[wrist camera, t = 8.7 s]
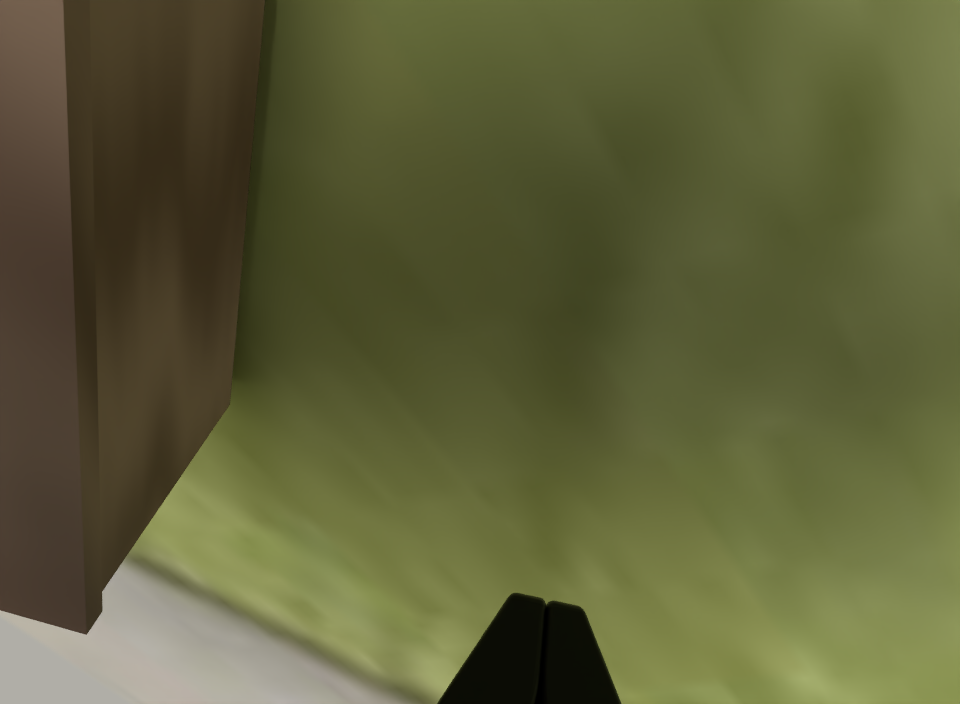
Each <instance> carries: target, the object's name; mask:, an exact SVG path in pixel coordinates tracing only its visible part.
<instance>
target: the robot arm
mask: <svg viewBox="0 0 960 704" xmlns="http://www.w3.org/2000/svg"><path fill="white" fill-rule="evenodd" d="M437 704H621V701H620V699H619V696H618V694H617V691H616V689H615V686H614V684H613V681H612V679H611V676H610V674H609V671H608V668H607V666H606V663H605V661H604V658H603V656H602V653H601V651H600V648H599V646H598V643H597V641H596V638H595V636H594V633H593V631H592V628H591V626H590V623H589V621H588V618H587V616H586V613H585V611H584V610H583V609H582V608H581V607H579V606H576V605H572V604H567V603H562V602H558V601H550V602H548V603H547V605H546V603H545V601H544V600H543V599H542V598H539V597H534V596H529V595H525V594H520V593H513V594H511V595H510V596H509V597H508V598H507V600H506V601H505V603H504V604H503V606H502V607H501V609H500V610H499V612H498V613H497V615H496V616H495V618H494V619H493V621H492V622H491V624H490V625H489V627H488V628H487V630H486V631H485V633H484V634H483V636H482V637H481V639H480V640H479V642H478V643H477V645H476V646H475V648H474V649H473V651H472V652H471V654H470V655H469V657H468V658H467V660H466V661H465V662H464V664H463V665H462V667H461V668H460V670H459V671H458V673H457V674H456V676H455V677H454V679H453V680H452V682H451V683H450V685H449V686H448V688H447V689H446V691H445V692H444V694H443V695H442V697H441V698H440V700H439V701H438V703H437Z"/></svg>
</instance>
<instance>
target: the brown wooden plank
mask: <svg viewBox="0 0 960 704" xmlns="http://www.w3.org/2000/svg"><path fill="white" fill-rule="evenodd" d="M264 8H265V0H0V610H1V611H5V612H8V613H12V614H15V615H19V616H22V617H26V618H30V619H33V620H37V621H40V622H44V623H47V624H51V625H54V626H58V627H61V628H65V629H68V630H72V631H75V632H79V633H83V634H86V635H87V633H88V632H89V630H90V629H91V627H92V626H93V624H94V623H95V621H96V620H97V618H98V617H99V615H100V614H101V612H102V591H103V590H104V588H105V587H106V585H107V584H108V582H109V581H110V579H111V578H112V576H113V575H114V573H115V572H116V571H117V569H118V568H119V566H120V565H121V563H122V562H123V560H124V559H125V557H126V556H127V554H128V553H129V551H130V550H131V549H132V547H133V546H134V544H135V543H136V541H137V540H138V538H139V537H140V535H141V534H142V532H143V531H144V529H145V528H146V527H147V525H148V524H149V522H150V521H151V519H152V518H153V516H154V515H155V513H156V512H157V510H158V509H159V507H160V506H161V505H162V503H163V502H164V500H165V499H166V497H167V496H168V494H169V493H170V491H171V490H172V488H173V487H174V485H175V484H176V483H177V481H178V480H179V478H180V477H181V475H182V474H183V472H184V471H185V469H186V468H187V466H188V465H189V463H190V462H191V461H192V459H193V458H194V456H195V455H196V453H197V452H198V450H199V449H200V447H201V446H202V444H203V443H204V441H205V440H206V439H207V437H208V436H209V434H210V433H211V431H212V430H213V428H214V427H215V425H216V424H217V422H218V421H219V419H220V418H221V417H222V415H223V414H224V412H225V411H226V409H227V408H228V406H229V405H230V398H231V386H232V375H233V363H234V352H235V341H236V329H237V318H238V306H239V295H240V283H241V272H242V260H243V249H244V237H245V226H246V214H247V203H248V191H249V180H250V168H251V157H252V145H253V134H254V122H255V111H256V99H257V88H258V76H259V65H260V53H261V42H262V30H263V19H264Z"/></svg>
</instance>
